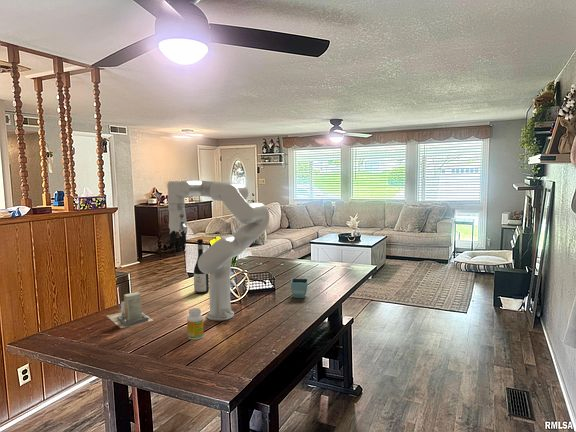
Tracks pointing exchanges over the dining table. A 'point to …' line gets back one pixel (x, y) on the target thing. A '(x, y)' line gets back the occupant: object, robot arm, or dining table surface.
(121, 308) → the steel pin
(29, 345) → the dining table surface
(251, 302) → the dining table surface
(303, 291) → the flower pot
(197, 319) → the supplement bottle
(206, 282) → the wine bottle
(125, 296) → the skincare box
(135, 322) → the board
